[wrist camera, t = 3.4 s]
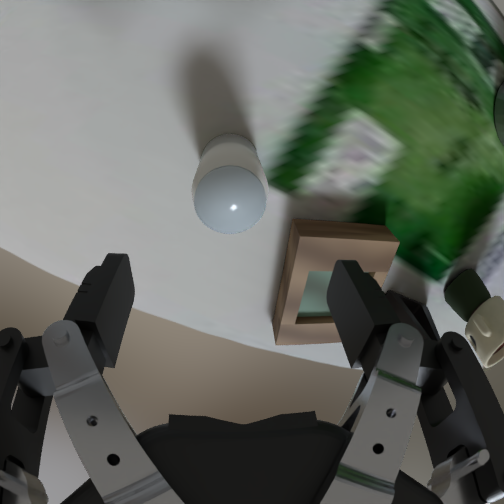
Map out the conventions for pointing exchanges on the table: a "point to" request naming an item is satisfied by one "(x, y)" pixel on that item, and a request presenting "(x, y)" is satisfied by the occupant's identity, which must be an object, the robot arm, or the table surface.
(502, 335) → the character mug
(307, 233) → the wooden frame
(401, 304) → the phone stand
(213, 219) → the white rounded cylinder
